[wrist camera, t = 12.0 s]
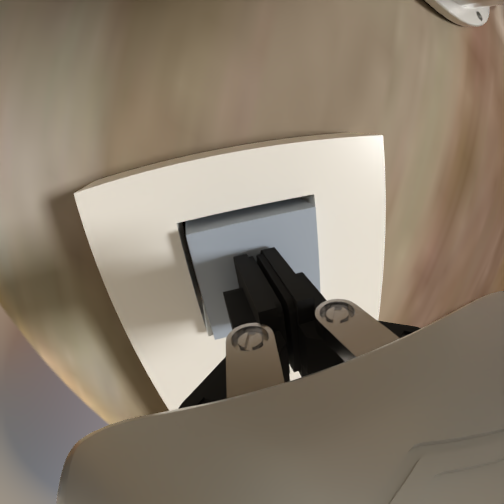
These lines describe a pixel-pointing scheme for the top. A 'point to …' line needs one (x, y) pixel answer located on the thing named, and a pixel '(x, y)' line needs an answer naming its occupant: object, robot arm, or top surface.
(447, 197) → the top surface
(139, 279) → the button panel
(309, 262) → the slate button
